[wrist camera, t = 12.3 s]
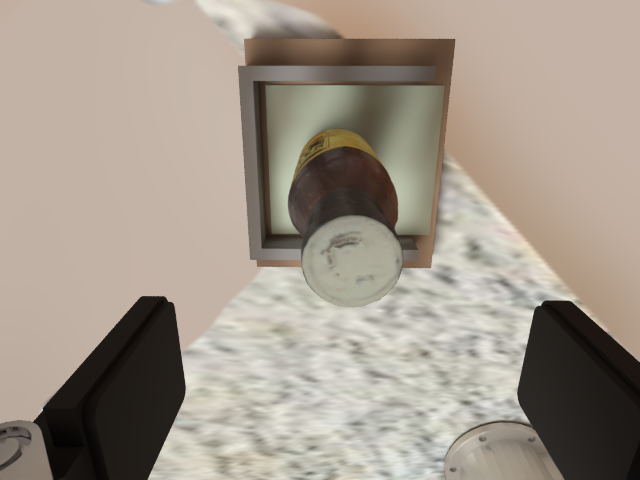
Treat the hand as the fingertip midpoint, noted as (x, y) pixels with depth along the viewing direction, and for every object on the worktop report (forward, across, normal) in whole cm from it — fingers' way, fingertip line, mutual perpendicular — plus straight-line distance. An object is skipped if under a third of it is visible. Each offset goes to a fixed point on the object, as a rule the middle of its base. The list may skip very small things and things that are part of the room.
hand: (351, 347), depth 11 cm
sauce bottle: (+26, 0, 0) cm, 26 cm away
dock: (+28, -1, 0) cm, 28 cm away
